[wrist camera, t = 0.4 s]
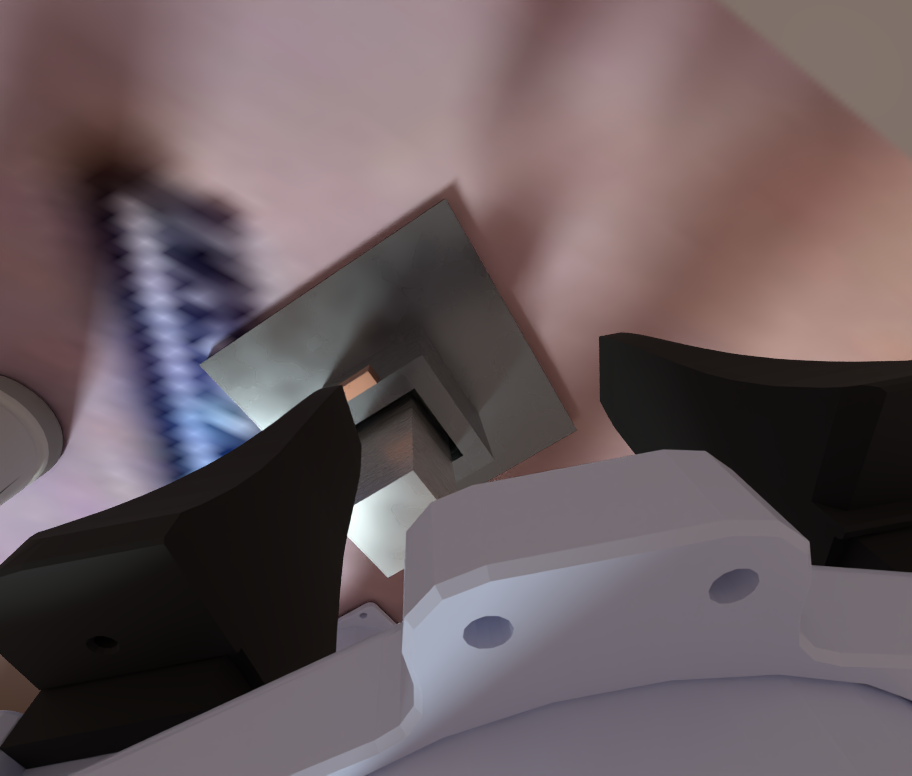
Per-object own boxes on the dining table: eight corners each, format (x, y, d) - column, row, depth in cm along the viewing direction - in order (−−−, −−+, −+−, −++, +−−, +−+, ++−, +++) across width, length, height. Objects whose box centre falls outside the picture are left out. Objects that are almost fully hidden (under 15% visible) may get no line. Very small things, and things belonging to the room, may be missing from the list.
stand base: (373, 537, 27) (365, 614, 21) (206, 359, 21) (143, 406, 16) (571, 423, 25) (613, 478, 20) (444, 199, 20) (456, 195, 14)
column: (395, 438, 23) (387, 579, 14) (360, 394, 22) (328, 518, 13) (444, 408, 22) (467, 535, 14) (411, 362, 21) (413, 468, 13)
